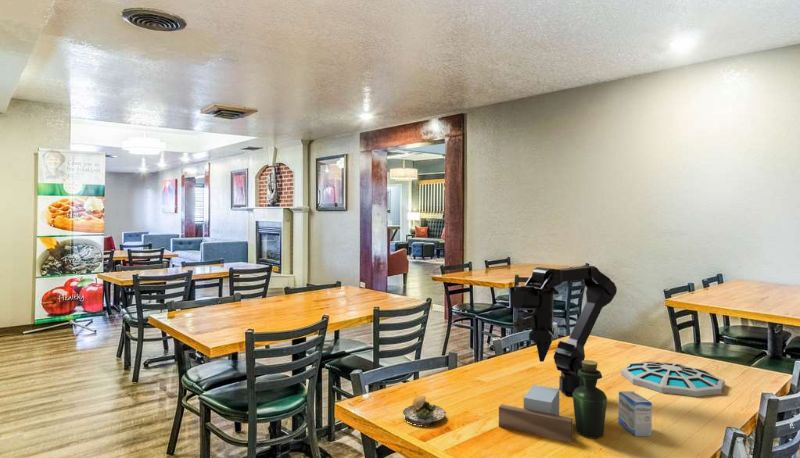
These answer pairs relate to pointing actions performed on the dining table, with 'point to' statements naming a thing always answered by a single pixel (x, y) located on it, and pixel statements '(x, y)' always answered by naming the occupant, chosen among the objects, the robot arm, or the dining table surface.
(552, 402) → the slate block
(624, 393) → the medicine box
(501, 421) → the walnut board
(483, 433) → the dining table surface
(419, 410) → the grey dish with food
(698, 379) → the decorative platform
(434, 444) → the dining table surface
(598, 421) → the potion bottle
